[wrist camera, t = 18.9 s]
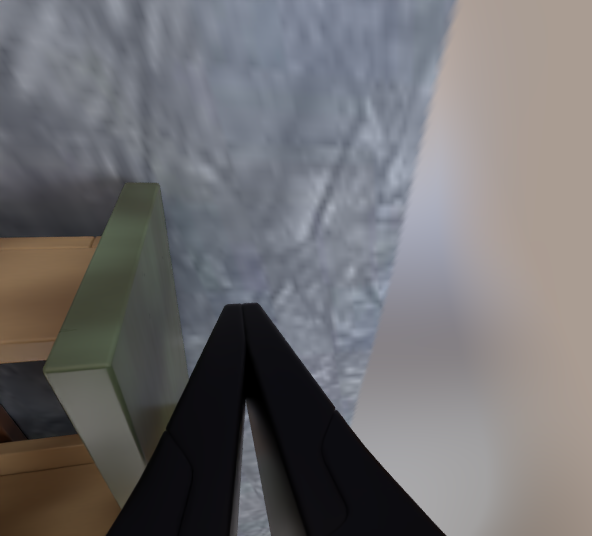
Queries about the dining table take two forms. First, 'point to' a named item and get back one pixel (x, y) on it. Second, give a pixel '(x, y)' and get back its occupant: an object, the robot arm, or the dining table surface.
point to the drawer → (91, 365)
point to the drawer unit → (9, 428)
